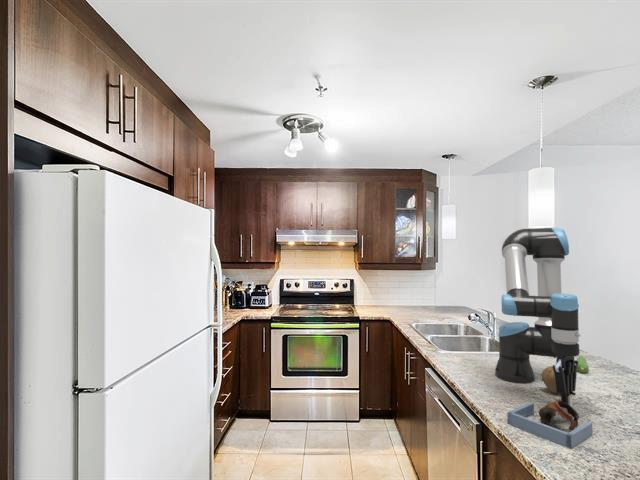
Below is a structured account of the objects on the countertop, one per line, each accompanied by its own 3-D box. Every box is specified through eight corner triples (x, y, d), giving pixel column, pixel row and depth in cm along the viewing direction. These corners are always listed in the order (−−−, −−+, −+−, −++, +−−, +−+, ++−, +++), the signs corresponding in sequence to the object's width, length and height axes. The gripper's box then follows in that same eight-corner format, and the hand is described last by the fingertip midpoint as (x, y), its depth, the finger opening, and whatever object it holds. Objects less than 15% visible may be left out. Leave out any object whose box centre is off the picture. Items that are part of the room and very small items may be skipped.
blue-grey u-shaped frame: (507, 423, 116) (507, 412, 116) (530, 412, 124) (530, 402, 124) (571, 448, 101) (570, 436, 101) (592, 434, 109) (592, 422, 109)
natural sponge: (543, 386, 148) (543, 361, 149) (570, 391, 143) (569, 365, 143) (539, 393, 141) (539, 367, 142) (567, 399, 136) (567, 371, 136)
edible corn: (573, 363, 165) (585, 362, 163) (575, 355, 181) (586, 353, 179) (577, 375, 164) (589, 374, 161) (579, 365, 180) (590, 364, 177)
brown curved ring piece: (550, 416, 122) (564, 398, 120) (573, 441, 114) (589, 422, 111) (524, 412, 118) (539, 393, 116) (547, 438, 110) (563, 418, 107)
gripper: (568, 346, 113) (570, 424, 112) (586, 341, 120) (588, 414, 120) (543, 342, 119) (544, 415, 119) (561, 336, 127) (563, 406, 126)
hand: (566, 414), depth 119 cm, fingers closed
